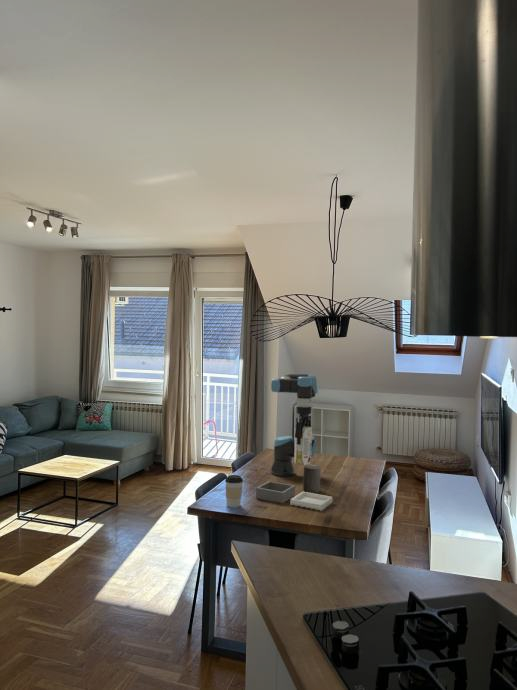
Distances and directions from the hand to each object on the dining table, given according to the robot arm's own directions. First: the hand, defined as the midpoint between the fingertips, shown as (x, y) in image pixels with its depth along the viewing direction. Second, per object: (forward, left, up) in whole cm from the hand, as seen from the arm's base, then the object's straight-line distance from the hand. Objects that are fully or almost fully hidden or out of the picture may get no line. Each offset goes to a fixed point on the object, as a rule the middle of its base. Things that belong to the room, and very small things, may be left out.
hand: (303, 449), depth 257 cm
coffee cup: (-28, -24, -28) cm, 46 cm away
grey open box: (-16, 0, -28) cm, 32 cm away
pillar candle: (-4, +22, -28) cm, 36 cm away
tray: (+5, 0, -28) cm, 28 cm away
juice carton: (0, 0, -8) cm, 8 cm away
